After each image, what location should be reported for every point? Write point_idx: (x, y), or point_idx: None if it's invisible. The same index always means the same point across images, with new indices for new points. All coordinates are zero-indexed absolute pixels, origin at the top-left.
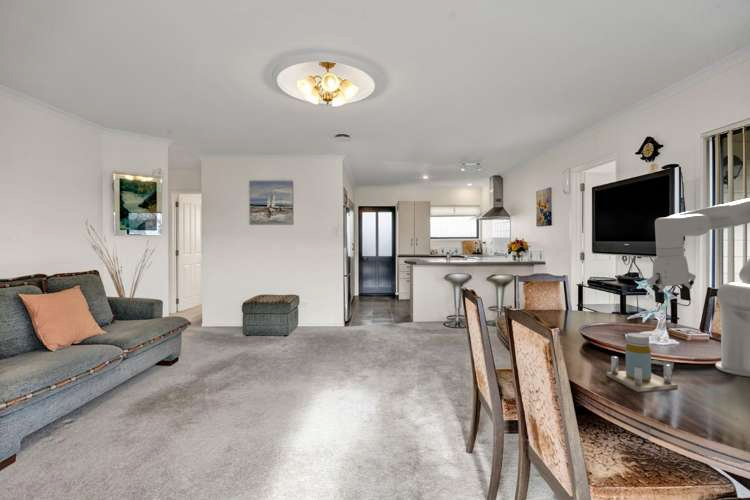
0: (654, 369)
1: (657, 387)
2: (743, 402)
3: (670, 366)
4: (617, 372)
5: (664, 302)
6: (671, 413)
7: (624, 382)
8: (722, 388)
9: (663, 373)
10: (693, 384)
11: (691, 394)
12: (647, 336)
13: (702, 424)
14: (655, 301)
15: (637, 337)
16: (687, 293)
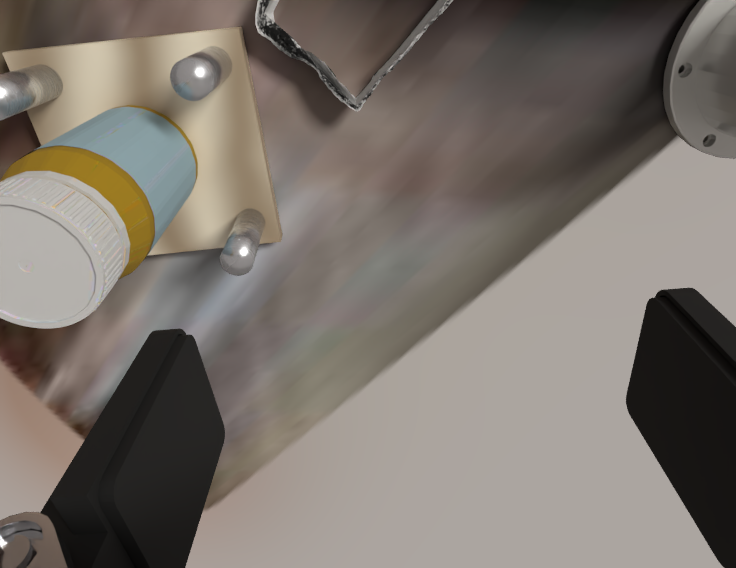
0: (299, 47)
1: (185, 249)
2: (413, 347)
3: (242, 274)
4: (49, 100)
5: (219, 444)
6: None
7: None
8: (457, 247)
9: (332, 75)
10: (379, 202)
11: (294, 286)
12: (91, 297)
13: None
14: (153, 337)
15: (1, 316)
16: (688, 494)
